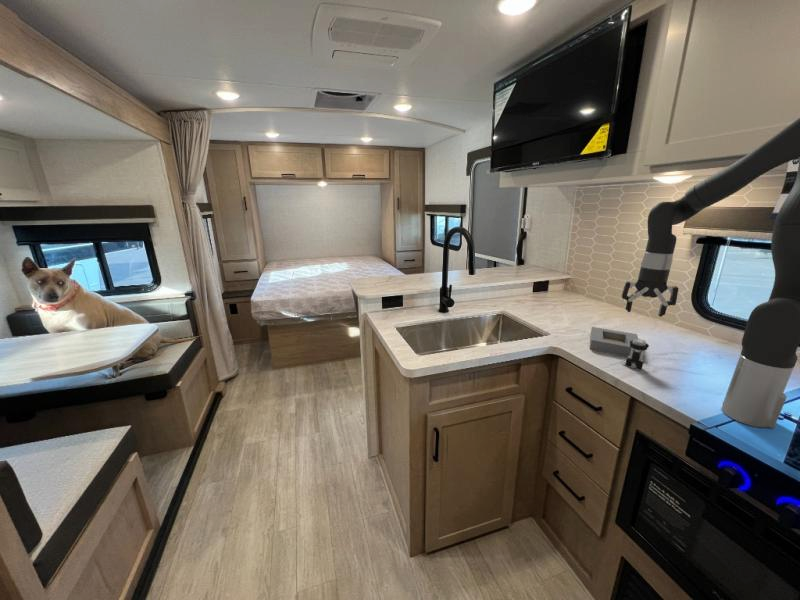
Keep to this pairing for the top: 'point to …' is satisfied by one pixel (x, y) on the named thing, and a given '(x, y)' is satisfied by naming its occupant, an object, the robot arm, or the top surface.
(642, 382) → the top surface
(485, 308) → the top surface
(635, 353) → the push button
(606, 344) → the housing
